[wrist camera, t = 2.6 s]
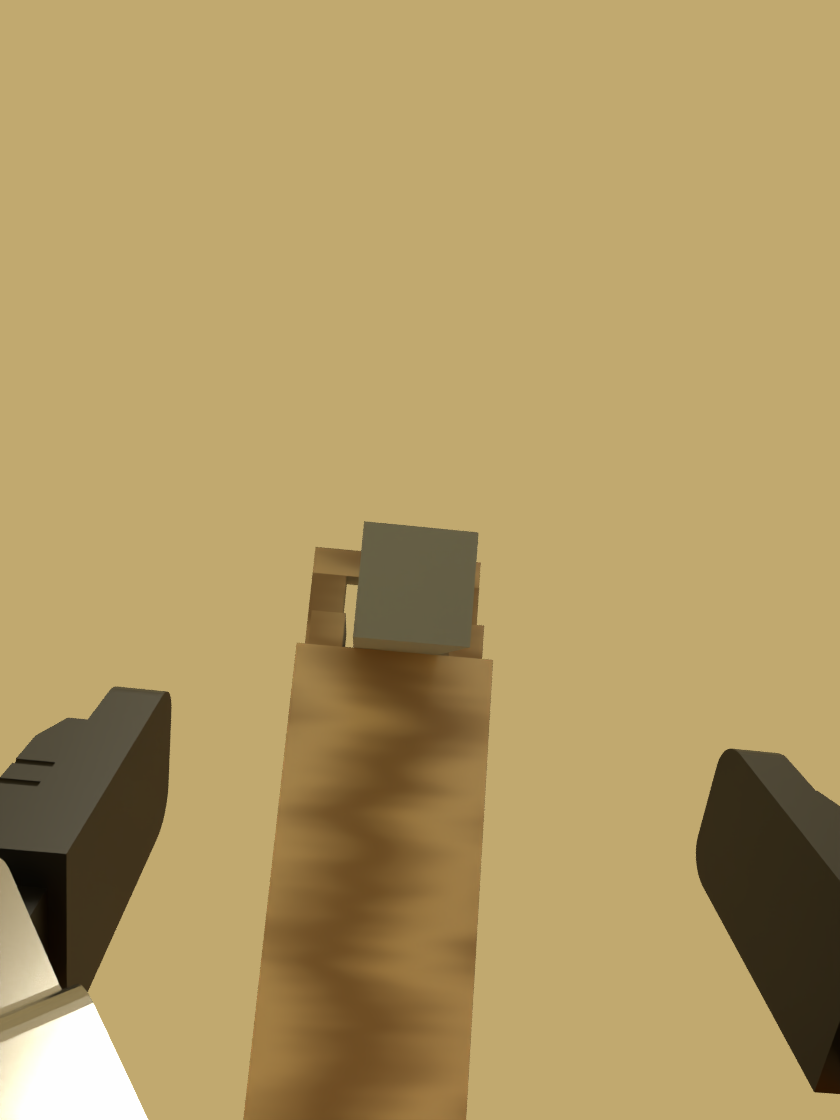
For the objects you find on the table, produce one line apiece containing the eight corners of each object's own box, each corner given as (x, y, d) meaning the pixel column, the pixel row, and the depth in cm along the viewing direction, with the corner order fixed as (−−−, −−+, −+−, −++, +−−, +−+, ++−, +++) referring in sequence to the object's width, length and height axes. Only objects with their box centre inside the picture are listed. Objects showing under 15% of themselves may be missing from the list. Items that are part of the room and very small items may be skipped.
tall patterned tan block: (410, 1531, 28) (473, 571, 36) (428, 1764, 22) (500, 538, 29) (212, 1529, 28) (317, 556, 35) (171, 1766, 21) (310, 519, 29)
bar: (422, 658, 35) (427, 590, 35) (469, 647, 20) (478, 532, 21) (353, 652, 34) (360, 584, 35) (353, 636, 20) (364, 521, 21)
